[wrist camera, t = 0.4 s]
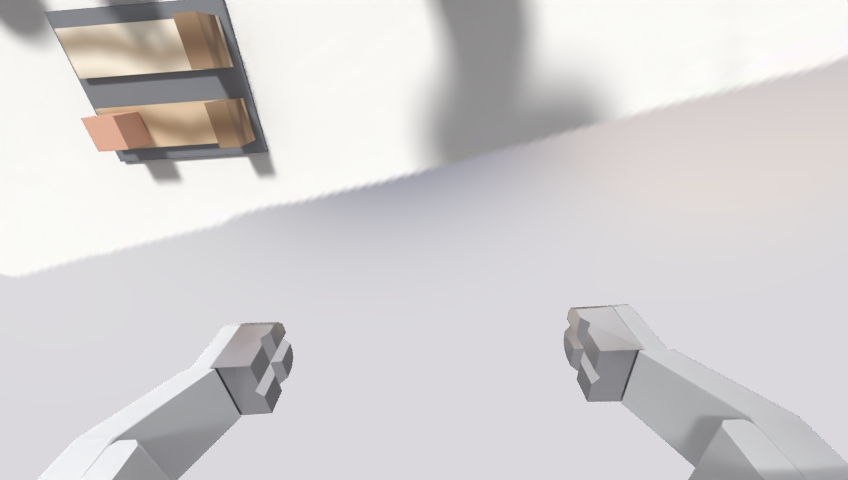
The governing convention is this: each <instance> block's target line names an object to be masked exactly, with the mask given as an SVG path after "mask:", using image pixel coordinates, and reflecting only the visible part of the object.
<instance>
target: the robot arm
mask: <svg viewBox="0 0 848 480" xmlns="http://www.w3.org/2000/svg"><path fill="white" fill-rule="evenodd" d="M567 320H568V321H569V323H570V325H571V326H570V327H569V328H568V329H567V330H566V331H565V335H564V346H565V347H564V348H565V352H566V356H567V359H568V361H569V363H570V365H571V366H572V367H573V368H575V369H576V370H578V371H579V372H578V377H577V381H578V383H579V385H580V387H581V389H582V391H583V393H584V395H585V397H586V400H587V401H588V402H591V401H592V402H593V401H622V404H623V405H624V406H626V407H627V408H628V409H629V410H630V411H631V412H632V413H634V414H635V415H636V416H637V417H638V418H639V419H640V420H642V421H643V422H644V423H645V424H646V425H647V426H649V427H650V428H651V429H652V430H653V431H654V432H655V433H657V434H658V435H659V436H660V437H661V438H662V439H663V440H665V441H666V442H667V443H668V444H669V445H670V446H671V447H673V448H674V449H675V450H676V451H677V452H678V453H680V454H681V455H682V456H683V457H684V458H685V459H686V460H688V461H689V462H690V463H691V464H692V465H693V466H694V467H696V468H695V469H694V471H693V473H692V475H691V476H690V478H689V480H848V463H847V462H846V461H845V460H844V459H843V458H842V457H841V456H840V455H839V454H838V453H837V452H836V451H835V450H833V449H832V448H831V447H830V446H829V445H828V444H827V443H826V442H825V441H824V440H823V439H822V438H821V437H820V436H819V435H818V434H817V433H816V432H815V431H814V430H813V429H812V428H811V427H810V426H809V425H808V424H806V422H804V421H803V420H802V419H801V418H800V417H799V416H798V415H796V414H794V413H792V412H790V411H788V410H787V409H785V408H783V407H781V406H779V405H777V404H775V403H774V402H772V401H770V400H768V399H766V398H764V397H762V396H760V395H759V394H757V393H755V392H753V391H751V390H749V389H747V388H746V387H744V386H742V385H740V384H738V383H736V382H734V381H733V380H731V379H728V378H727V377H725V376H723V375H721V374H720V373H718V372H716V371H714V370H712V369H710V368H708V367H706V366H705V365H703V364H701V363H699V362H697V361H695V360H693V359H692V358H690V357H688V356H686V355H684V354H682V353H680V352H678V351H677V350H675V349H667V348H666V347H665V345H664V344H663V343H662V342H661V341H660V339H659V338H658V337H657V336H656V335H655V333H654V332H653V331H652V330H651V329H650V328H649V326H648V325H647V324H646V323H645V321H644V320H643V319H642V318H641V317H640V315H639V314H638V313H637V312H636V311H635V310H634V308H633V307H632V306H630V305H628V304H623V305H609V306H597V307H578V308H571V309H570V310H569V312H568V317H567ZM285 333H286V332H285V329H284V327H283V324H281V323H279V322H271V323H270V322H269V323H245V324H227V325H225V326H223V327H222V328H221V330H220V331H219V332H218V334H217V335H216V336H215V338H214V339H213V340H212V341H211V343H210V344H209V345H208V347H207V348H206V349H205V350H204V352H203V353H202V354H201V356H200V357H199V358H198V359H197V361H196V362H195V363H194V365H193V366H192V367H191V369H190V370H183V371H182V372H180V373H178V374H177V375H175V376H174V377H172V378H171V379H169V380H167V381H166V382H164V383H163V384H161V385H160V386H158V387H156V388H155V389H153V390H152V391H150V392H149V393H147V394H145V395H144V396H142V397H141V398H139V399H138V400H136V401H134V402H133V403H131V404H130V405H128V406H127V407H125V408H124V409H122V410H120V411H119V412H117V413H116V414H114V415H112V416H111V417H109V418H108V419H106V420H105V421H103V422H102V423H100V424H98V425H97V426H95V427H94V428H92V429H91V430H89V431H87V432H86V433H84V434H83V435H81V436H79V437H78V438H76V439H75V440H74V441H73V442H72V443H71V444H70V445H69V446H68V447H67V448H66V449H65V450H64V451H63V452H62V454H61V455H60V456H59V457H58V458H57V459H56V460H55V461H54V462H53V463H52V464H51V465H50V466H49V468H48V469H47V470H46V471H45V472H44V473H43V474H42V475H41V476H40V477H39V478H38V479H37V480H178V479H179V478H180V476H182V475H183V474H184V473H185V472H186V471H187V470H188V469H189V468H190V467H191V466H192V464H194V463H195V462H196V461H197V460H198V459H199V458H200V457H201V456H202V455H203V454H204V453H205V452H206V451H207V450H208V449H209V448H210V447H211V446H212V445H213V444H214V443H215V442H216V441H217V440H218V439H219V438H220V437H221V436H222V435H223V434H224V433H225V432H226V431H227V430H228V429H229V428H230V427H231V426H232V425H233V424H234V423H235V422H236V421H237V420H238V419H239V418H240V417H241V415H250V414H265V413H272V412H273V410H274V407H275V405H276V403H277V401H278V398H279V396H280V394H281V392H282V390H281V387H280V383H281V382H283V381H284V380H285V379H286V378H287V377H288V375H289V373H290V371H291V368H292V362H293V352H292V348H291V345H290V343H288V342H287V341H286V340H284V339H283V337H284V335H285Z"/></svg>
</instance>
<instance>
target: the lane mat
mask: <svg viewBox="0 0 848 480" xmlns="http://www.w3.org/2000/svg"><path fill="white" fill-rule="evenodd" d="M194 11H197V12H202V13H206V14H211V15H216V16H219V20H220V23H221V26H222V30H223V33H224V36H225V40H226V43H227V46H228V49H229V53H230V56H231V59H232V63H233V66H234V67H229V68H216V69H203V70H190V71H177V72H164V73H151V74H138V75H125V76H112V77H99V78H86V79H79V77H78V75H77V73H76V71H75V69H74V67H73V65H72V63H71V61H70V59H69V57H68V56H67V57H68V59H69V61H70V63H71V65H72V67H73V69H74V71H75V73H76V75H77V77H78V79H79V81H80V83H81V85H82V87H83V89H84V91H85V93H86V95H87V97H88V98H89V100H90V102H91V104H92V106H93V108H94V110H95V109H98V108H111V107H124V106H138V105H152V104H165V103H179V102H193V101H207V100H220V99H234V98H243V99H244V102H245V105H246V109H247V112H248V115H249V119H250V122H251V125H252V128H253V132H254V135H255V138H256V140H254V141H252V142H250V143H248V144H245V145H243V146H241V147H230V148H220V147H219V144H218V143H213V144H198V145H183V146H168V147H153V148H138V149H129V150H115V151H116V153H117V155H118V157H119V159H120V161H137V160H152V159H167V158H182V157H197V156H213V155H228V154H243V153H258V152H267V151H268V150H267V146H266V143H265V139H264V136H263V133H262V129H261V126H260V122H259V119H258V115H257V112H256V109H255V105H254V102H253V98H252V95H251V91H250V88H249V85H248V81H247V78H246V74H245V71H244V67H243V64H242V60H241V57H240V54H239V50H238V47H237V43H236V40H235V36H234V33H233V30H232V26H231V23H230V19H229V16H228V12H227V9H226V6H225V2H224V0H178V1H167V2H155V3H144V4H132V5H120V6H109V7H97V8H85V9H74V10H62V11H50V12H45V14H46V16H47V18H48V20H49V22H50V24H51V26H52V28H53V30H54V29H57V28H69V27H81V26H93V25H105V24H116V23H128V22H140V21H152V20H164V19H174V18H173V16H172V13H182V12H194ZM54 32H55V30H54ZM55 34H56V32H55ZM56 36H57V34H56ZM57 38H58V36H57ZM58 40H59V38H58ZM59 42H60V40H59ZM60 44H61V42H60ZM61 46H62V44H61ZM62 48H63V46H62ZM63 50H64V48H63ZM64 52H65V50H64ZM65 54H66V52H65ZM66 55H67V54H66ZM95 112H96V110H95ZM96 114H97V112H96ZM97 116H98V114H97Z"/></svg>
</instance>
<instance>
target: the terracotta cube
mask: <svg viewBox="0 0 848 480" xmlns="http://www.w3.org/2000/svg"><path fill="white" fill-rule="evenodd" d="M81 120H82V121H83V123H84V125H85V127H86V129H87V131H88V133H89V135H90V136H91V138H92V140H93V142H94V144H95V146H96V148H97V149H98V151H114V150H129V149H132V148H136V147H139V146H142V145H146V144H149V143H152V141H151V139H150V137H149V134H148V132H147V130H146V128H145V126H144V123H143V121H142V119H141V117H140V115H139V112H124V113H110V114H103V115H98V116H92V117H86V118H81Z"/></svg>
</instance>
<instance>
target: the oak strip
mask: <svg viewBox="0 0 848 480" xmlns="http://www.w3.org/2000/svg"><path fill="white" fill-rule="evenodd" d="M95 110H96V112H97V114H98V115H103V114H110V113H124V112H139V115H140V117H141V119H142V121H143V123H144V126H145V128H146V130H147V132H148V134H149V137H150V139H151V141H152V143H149V144H146V145H142V146H139V147H136V148H132V149H138V148H153V147H168V146H183V145H198V144H213V143H218V144H219V147H220V148H230V147H241V146H243V145H245V144H248V143H250V142H252V141H254V140H256V138H255V135H254V132H253V128H252V125H251V122H250V119H249V115H248V112H247V109H246V105H245V102H244V99H243V98H234V99H220V100H207V101H193V102H179V103H165V104H152V105H138V106H124V107H111V108H98V109H95Z"/></svg>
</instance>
